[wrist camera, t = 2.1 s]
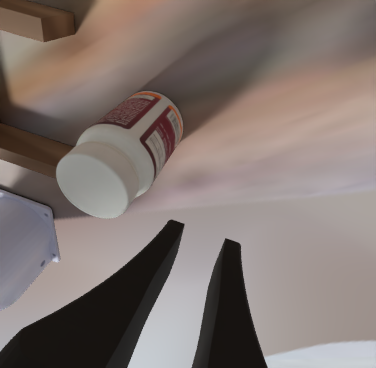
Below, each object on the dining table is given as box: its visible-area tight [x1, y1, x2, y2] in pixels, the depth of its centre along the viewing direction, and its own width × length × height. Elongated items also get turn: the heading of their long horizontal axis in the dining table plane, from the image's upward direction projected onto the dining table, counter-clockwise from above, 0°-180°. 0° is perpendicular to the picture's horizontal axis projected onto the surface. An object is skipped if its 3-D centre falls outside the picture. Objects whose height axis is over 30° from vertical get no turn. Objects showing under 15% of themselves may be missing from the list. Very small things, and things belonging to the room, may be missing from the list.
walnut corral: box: [0, 0, 75, 179], centre depth 20 cm, size 11×9×3 cm
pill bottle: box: [56, 91, 183, 219], centre depth 17 cm, size 5×5×8 cm
